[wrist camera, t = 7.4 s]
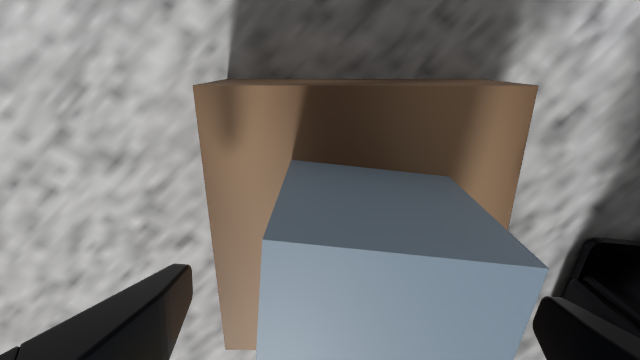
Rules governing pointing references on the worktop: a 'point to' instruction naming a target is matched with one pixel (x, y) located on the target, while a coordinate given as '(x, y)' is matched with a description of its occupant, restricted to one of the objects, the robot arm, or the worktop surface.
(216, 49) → the worktop surface
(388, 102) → the walnut block
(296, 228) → the slate cube
